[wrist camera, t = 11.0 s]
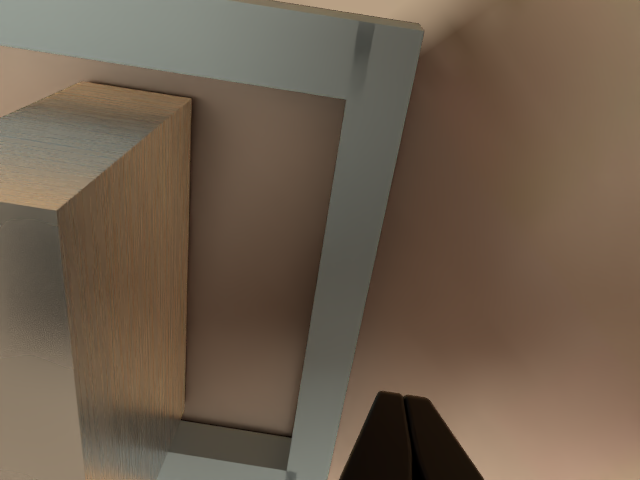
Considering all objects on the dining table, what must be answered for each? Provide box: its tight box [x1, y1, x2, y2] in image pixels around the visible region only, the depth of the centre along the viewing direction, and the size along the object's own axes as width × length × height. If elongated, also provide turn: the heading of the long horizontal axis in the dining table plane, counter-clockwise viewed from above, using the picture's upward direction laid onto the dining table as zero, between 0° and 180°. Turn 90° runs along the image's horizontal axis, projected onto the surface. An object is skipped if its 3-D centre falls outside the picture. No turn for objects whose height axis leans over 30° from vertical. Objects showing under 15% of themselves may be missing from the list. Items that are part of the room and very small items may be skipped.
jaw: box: [0, 81, 192, 480], centre depth 9 cm, size 2×8×5 cm, turn 172°
